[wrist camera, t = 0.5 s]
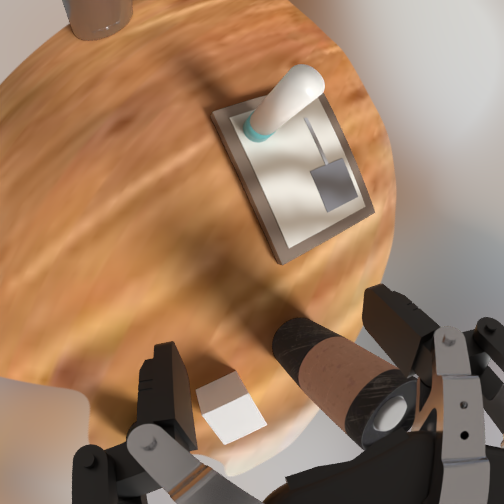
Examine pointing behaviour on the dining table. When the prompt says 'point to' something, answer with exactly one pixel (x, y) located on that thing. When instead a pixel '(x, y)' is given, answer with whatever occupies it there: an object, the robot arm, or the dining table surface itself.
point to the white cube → (229, 408)
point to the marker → (284, 102)
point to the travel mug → (346, 381)
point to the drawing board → (296, 176)
